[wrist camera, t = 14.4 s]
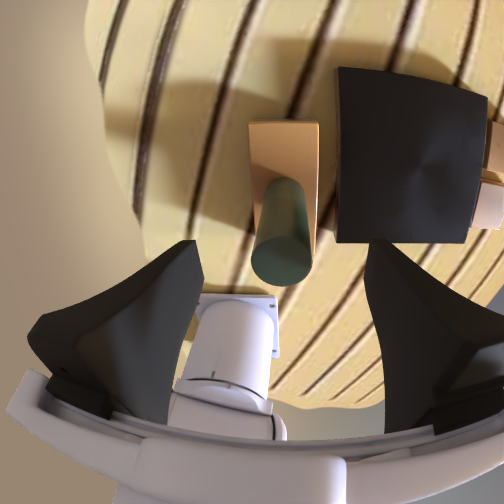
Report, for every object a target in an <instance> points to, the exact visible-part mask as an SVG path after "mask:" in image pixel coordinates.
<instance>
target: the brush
mask: <svg viewBox="0 0 504 504" xmlns="http://www.w3.org/2000/svg"><path fill="white" fill-rule="evenodd" d="M248 138H249V152H250V166H251V180H252V195H253V209H254V224H255V242H254V247H253V251H252V256H251V265H252V268H253V270H254V272H255V274H256V275H257V276H258V277H259V278H260V279H261V280H263V281H264V282H266V283H268V284H270V285H274V286H281V287H283V286H291V285H294V284H297V283H299V282H301V281H302V280H303V279H305V278H306V276H307V275H308V274H309V272H310V270H311V268H312V263H313V259H312V257H314V254H315V239H316V222H317V201H318V168H319V124H318V122H317V121H316V120H315V119H311V118H271V119H253V120H252V121H250V122H249V123H248Z"/></svg>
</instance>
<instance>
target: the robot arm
mask: <svg viewBox="0 0 504 504" xmlns="http://www.w3.org/2000/svg"><path fill="white" fill-rule="evenodd" d="M363 279H364V285H365V291H366V296H367V301H368V304H369V308H370V311H371V314H372V318H373V321H374V325H375V328H376V332H377V336H378V339H379V344H380V348H381V355H382V363H383V372H384V385H385V431H384V434H381V435H375V436H367V437H358V438H347V439H334V440H311V441H309V440H308V441H288V440H287V432H286V427H285V425H284V423H283V421H282V419H281V417H280V416H279V415H278V414H273V413H272V405H273V402H272V401H268V400H267V392H268V383H269V373H270V364H271V359H276V358H278V357H279V331H278V303H277V297H276V296H274V295H246V294H210V293H201V291H202V286H203V282H204V275H203V271H202V267H201V263H200V258H199V254H198V249H197V245H196V241H195V240H182V241H180V242H178V243H177V244H175V245H174V246H172V247H171V248H169V249H168V250H167V251H165V252H164V253H163V254H161V255H160V256H158V257H157V258H156V259H154V260H153V261H152V262H150V263H149V264H147V265H146V266H145V267H143V268H142V269H140V270H139V271H137V272H136V273H135V274H133V275H132V276H130V277H128V278H127V279H125V280H124V281H122V282H120V283H119V284H117V285H115V286H114V287H112V288H110V289H108V290H106V291H104V292H102V293H100V294H98V295H96V296H94V297H92V298H90V299H87V300H85V301H83V302H80V303H78V304H75V305H73V306H70V307H67V308H64V309H61V310H57V311H54V312H51V313H47V314H43V315H42V316H41V317H40V318H39V319H38V321H37V322H36V324H35V325H34V326H33V328H32V329H31V330H30V332H29V333H28V335H27V339H28V343H29V345H30V347H31V348H32V350H33V351H34V353H35V354H36V355H37V356H38V357H39V359H40V360H41V361H42V362H43V363H44V365H45V366H46V367H47V368H48V369H49V370H50V371H51V372H52V373H53V375H52V377H51V378H50V379H49V378H48V377H46V376H45V375H43V374H41V373H39V372H37V371H35V370H33V369H31V368H29V369H28V370H27V372H26V373H25V375H24V377H23V379H22V380H21V382H20V384H19V386H18V387H17V389H16V391H15V393H14V395H13V397H12V399H11V401H10V402H9V405H8V406H7V408H6V410H5V411H6V413H7V414H8V415H9V416H10V417H11V418H13V419H14V420H15V421H16V422H18V423H19V424H20V425H22V426H23V427H24V428H25V429H27V430H28V431H29V432H31V433H32V434H34V435H35V436H36V437H38V438H39V439H41V440H42V441H44V442H45V443H47V444H48V445H50V446H51V447H53V448H54V449H56V450H57V451H59V452H61V453H62V454H64V455H66V456H67V457H69V458H71V459H73V460H74V461H76V462H78V463H80V464H82V465H83V466H85V467H88V468H89V469H91V470H93V471H95V472H97V473H99V474H101V475H104V476H106V477H108V478H110V479H113V480H115V481H117V482H118V483H117V487H116V490H115V493H114V497H113V500H112V503H111V504H406V503H409V502H413V501H416V500H420V499H423V498H426V497H429V496H432V495H435V494H437V493H441V492H443V491H446V490H449V489H451V488H453V487H456V486H458V485H461V484H463V483H465V482H468V481H470V480H472V479H474V478H476V477H478V476H480V475H482V474H484V473H486V472H488V471H490V470H492V469H494V468H496V467H497V466H499V465H501V464H503V463H504V389H503V387H504V315H501V314H498V313H496V312H493V311H491V310H489V309H487V308H485V307H482V306H480V305H478V304H476V303H474V302H472V301H471V300H469V299H467V298H465V297H463V296H462V295H460V294H458V293H457V292H455V291H453V290H452V289H450V288H449V287H447V286H446V285H444V284H443V283H441V282H440V281H438V280H437V279H435V278H434V277H433V276H431V275H430V274H429V273H427V272H426V271H425V270H423V269H422V268H421V267H420V266H418V265H417V264H416V263H415V262H413V261H412V260H411V259H410V258H409V257H407V256H406V255H405V254H404V253H403V252H401V251H400V250H399V249H398V248H397V247H395V246H394V245H393V244H392V243H390V242H389V241H388V240H386V239H385V238H370V243H369V249H368V255H367V261H366V267H365V273H364V278H363ZM271 304H274V305H271ZM194 311H195V313H196V316H197V319H198V322H199V326H198V329H197V332H196V335H195V338H194V341H193V344H192V347H191V350H190V353H189V356H188V359H187V362H186V365H185V368H184V371H183V374H182V377H181V379H180V378H178V379H177V381H176V384H175V387H174V390H173V389H172V385H173V380H174V375H175V369H176V365H177V361H178V357H179V353H180V349H181V346H182V342H183V339H184V337H185V334H186V332H187V329H188V327H189V324H190V321H191V319H192V316H193V314H194ZM351 462H352V463H351Z"/></svg>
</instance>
